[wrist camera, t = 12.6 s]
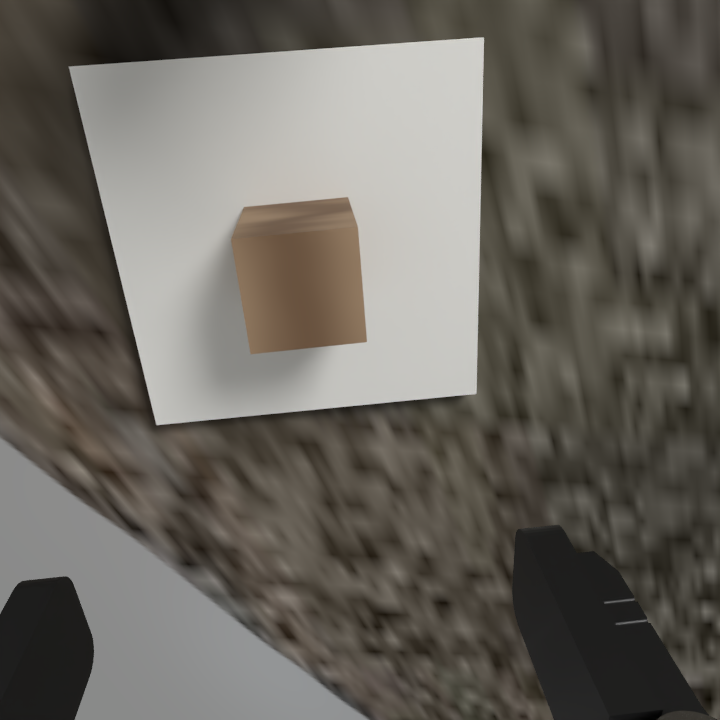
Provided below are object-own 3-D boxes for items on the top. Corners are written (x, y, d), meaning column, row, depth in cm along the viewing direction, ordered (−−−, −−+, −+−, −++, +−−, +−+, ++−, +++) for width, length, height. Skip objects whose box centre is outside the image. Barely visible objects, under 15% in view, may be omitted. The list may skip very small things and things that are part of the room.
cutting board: (476, 38, 28) (483, 37, 27) (471, 384, 36) (476, 393, 35) (77, 66, 27) (68, 66, 26) (160, 414, 35) (156, 425, 34)
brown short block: (347, 197, 30) (357, 226, 24) (356, 294, 32) (366, 342, 27) (243, 207, 30) (230, 239, 24) (259, 304, 32) (250, 354, 26)
